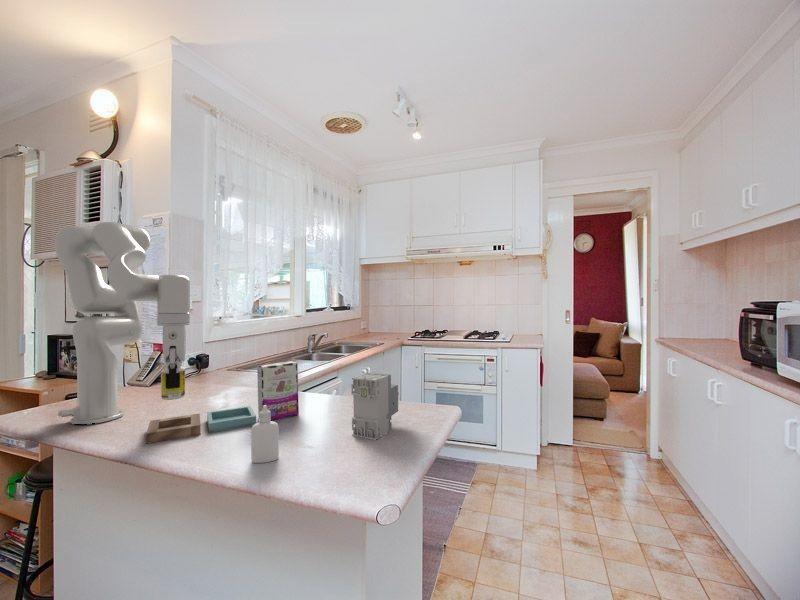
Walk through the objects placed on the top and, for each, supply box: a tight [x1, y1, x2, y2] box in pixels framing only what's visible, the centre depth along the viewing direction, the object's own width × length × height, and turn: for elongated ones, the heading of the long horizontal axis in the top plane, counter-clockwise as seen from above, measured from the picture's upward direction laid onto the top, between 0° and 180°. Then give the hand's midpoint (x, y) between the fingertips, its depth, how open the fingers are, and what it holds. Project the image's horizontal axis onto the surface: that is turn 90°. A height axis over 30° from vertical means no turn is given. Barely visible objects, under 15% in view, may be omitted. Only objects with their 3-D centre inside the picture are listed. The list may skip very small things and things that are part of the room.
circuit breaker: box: [350, 372, 399, 440], centre depth 98 cm, size 8×14×15 cm, turn 155°
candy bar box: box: [256, 360, 300, 421], centre depth 110 cm, size 11×5×16 cm, turn 129°
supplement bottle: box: [160, 360, 186, 401], centre depth 98 cm, size 6×6×10 cm
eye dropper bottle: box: [250, 405, 280, 464], centre depth 79 cm, size 4×6×12 cm
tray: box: [206, 405, 257, 434], centre depth 105 cm, size 12×12×2 cm
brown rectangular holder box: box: [145, 413, 202, 445], centre depth 98 cm, size 12×12×2 cm
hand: (173, 384), depth 98 cm, fingers closed on supplement bottle, 5 cm apart
